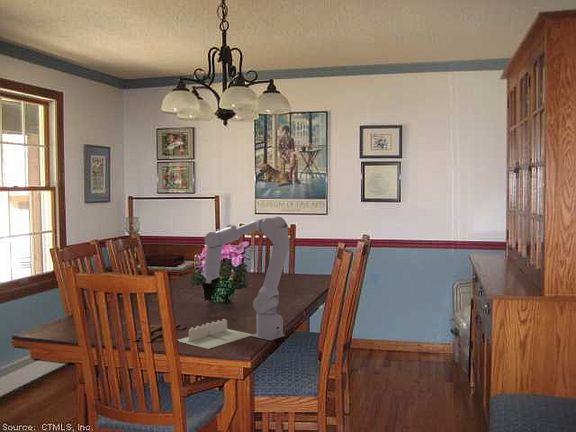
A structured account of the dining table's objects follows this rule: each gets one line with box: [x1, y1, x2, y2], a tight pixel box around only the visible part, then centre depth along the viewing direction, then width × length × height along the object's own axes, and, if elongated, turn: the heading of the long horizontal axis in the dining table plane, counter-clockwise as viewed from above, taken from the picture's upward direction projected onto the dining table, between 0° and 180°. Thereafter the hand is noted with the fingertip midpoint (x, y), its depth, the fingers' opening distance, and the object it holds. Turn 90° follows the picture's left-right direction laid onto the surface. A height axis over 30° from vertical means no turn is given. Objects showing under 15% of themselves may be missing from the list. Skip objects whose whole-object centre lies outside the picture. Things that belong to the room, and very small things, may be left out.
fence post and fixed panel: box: [188, 322, 212, 341], centre depth 210 cm, size 2×10×5 cm, turn 141°
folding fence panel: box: [211, 318, 228, 335], centre depth 217 cm, size 8×1×5 cm, turn 141°
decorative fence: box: [136, 323, 188, 343], centre depth 218 cm, size 23×2×15 cm
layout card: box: [177, 328, 255, 350], centre depth 211 cm, size 17×23×1 cm
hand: (209, 297), depth 222 cm, fingers open, 7 cm apart
